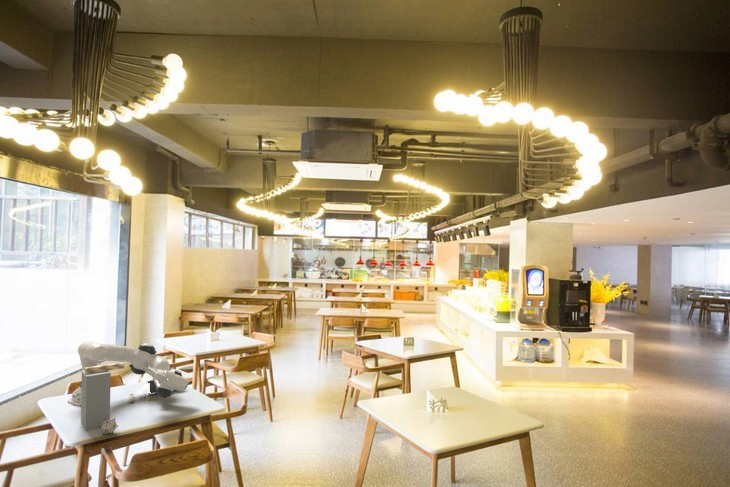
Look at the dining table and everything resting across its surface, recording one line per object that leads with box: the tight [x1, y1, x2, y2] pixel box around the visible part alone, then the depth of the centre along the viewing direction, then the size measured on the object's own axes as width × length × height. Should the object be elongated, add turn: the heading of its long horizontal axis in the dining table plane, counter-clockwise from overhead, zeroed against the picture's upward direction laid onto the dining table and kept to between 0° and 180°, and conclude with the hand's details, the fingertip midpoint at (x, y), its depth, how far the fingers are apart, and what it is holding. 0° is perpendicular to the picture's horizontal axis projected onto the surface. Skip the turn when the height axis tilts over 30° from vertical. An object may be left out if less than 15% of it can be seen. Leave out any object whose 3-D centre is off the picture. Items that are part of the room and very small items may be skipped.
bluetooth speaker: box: [146, 379, 157, 394], centre depth 323 cm, size 23×9×10 cm, turn 131°
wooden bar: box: [85, 362, 125, 374], centre depth 266 cm, size 20×3×3 cm, turn 130°
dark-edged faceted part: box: [99, 418, 119, 436], centre depth 248 cm, size 9×8×10 cm
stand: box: [80, 370, 112, 431], centre depth 263 cm, size 12×16×30 cm
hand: (144, 369), depth 279 cm, fingers open, 8 cm apart
